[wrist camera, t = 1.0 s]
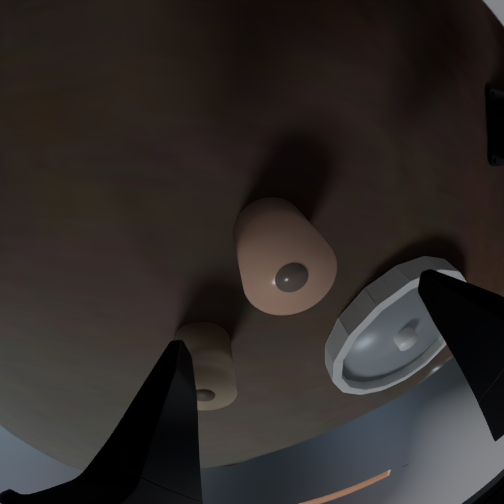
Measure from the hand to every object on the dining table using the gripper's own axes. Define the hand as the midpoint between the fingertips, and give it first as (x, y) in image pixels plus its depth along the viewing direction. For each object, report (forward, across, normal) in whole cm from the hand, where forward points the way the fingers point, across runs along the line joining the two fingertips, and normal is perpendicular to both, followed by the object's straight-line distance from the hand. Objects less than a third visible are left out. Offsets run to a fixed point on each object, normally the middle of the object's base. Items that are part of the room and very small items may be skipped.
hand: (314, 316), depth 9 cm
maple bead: (+7, +6, +7) cm, 12 cm away
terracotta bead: (+7, 0, 0) cm, 7 cm away
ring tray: (+7, -10, +12) cm, 17 cm away
